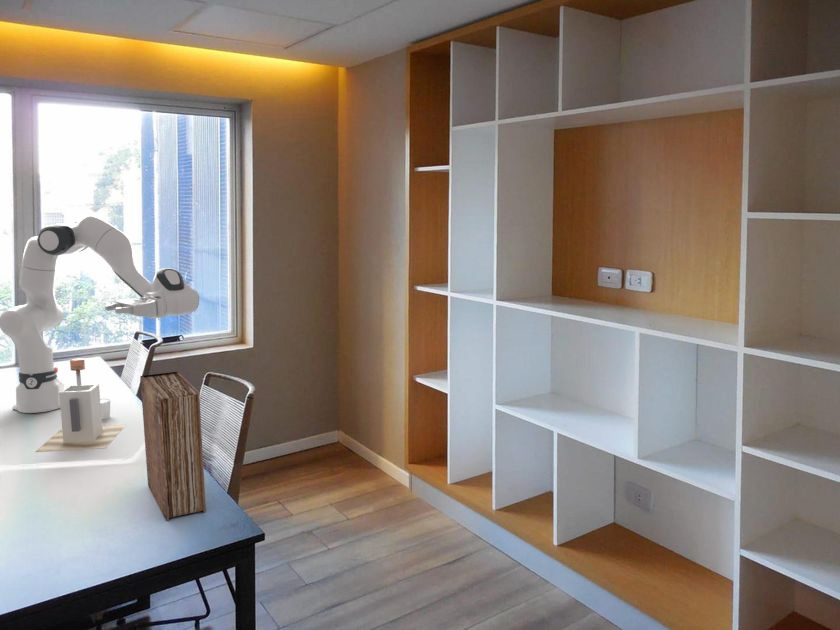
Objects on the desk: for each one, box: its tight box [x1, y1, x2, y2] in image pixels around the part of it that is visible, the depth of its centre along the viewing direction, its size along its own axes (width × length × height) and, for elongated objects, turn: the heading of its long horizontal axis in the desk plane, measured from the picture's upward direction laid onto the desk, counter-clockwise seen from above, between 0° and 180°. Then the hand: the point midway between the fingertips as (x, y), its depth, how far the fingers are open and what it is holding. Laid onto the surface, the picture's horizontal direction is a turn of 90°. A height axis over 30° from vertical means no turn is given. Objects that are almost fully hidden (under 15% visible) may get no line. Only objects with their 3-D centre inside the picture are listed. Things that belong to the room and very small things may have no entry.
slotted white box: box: [59, 383, 103, 443], centre depth 220 cm, size 11×9×16 cm
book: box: [139, 371, 207, 522], centre depth 175 cm, size 25×9×30 cm, turn 30°
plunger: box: [69, 358, 86, 391], centre depth 220 cm, size 6×6×24 cm
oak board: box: [35, 423, 127, 453], centre depth 222 cm, size 24×20×1 cm
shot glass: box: [100, 398, 111, 420], centre depth 243 cm, size 7×7×7 cm
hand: (110, 309), depth 230 cm, fingers open, 8 cm apart
